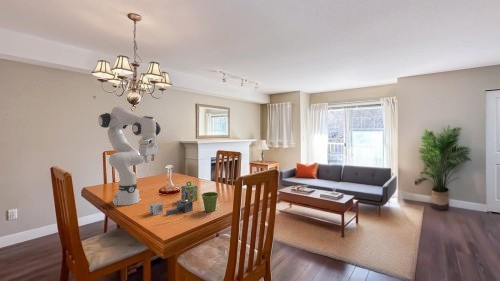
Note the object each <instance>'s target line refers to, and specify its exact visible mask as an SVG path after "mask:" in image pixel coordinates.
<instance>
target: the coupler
mask: <svg viewBox="0 0 500 281" xmlns="http://www.w3.org/2000/svg"><path fill="white" fill-rule="evenodd" d="M193 202H194V201H193ZM193 202H192V201H189V200H187V199H182V200H181V199H179V200H177V201H176V207H175V208H172V209H168V210H166V211H165V212H166V213H165V214H166V215H167V216H171V215H174V214H177V213H181V212H182V213H188V212H192V211H193V206H194V204H193Z"/></svg>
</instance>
